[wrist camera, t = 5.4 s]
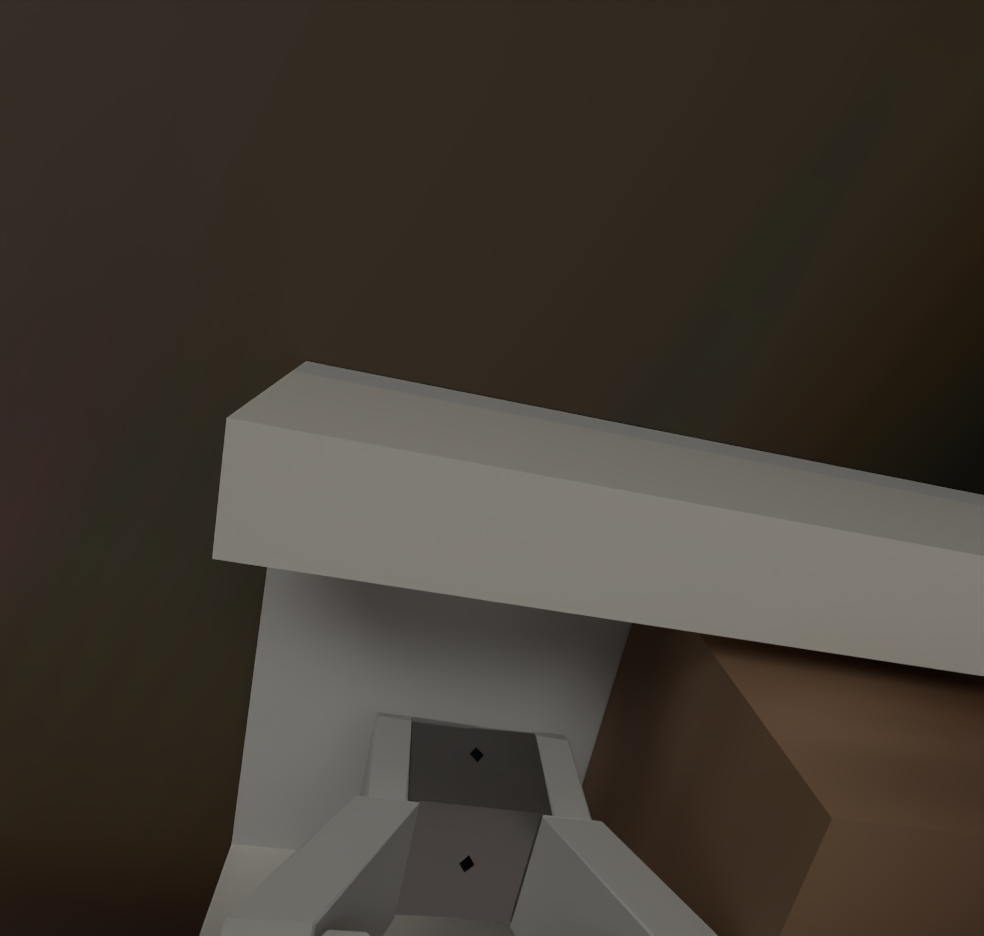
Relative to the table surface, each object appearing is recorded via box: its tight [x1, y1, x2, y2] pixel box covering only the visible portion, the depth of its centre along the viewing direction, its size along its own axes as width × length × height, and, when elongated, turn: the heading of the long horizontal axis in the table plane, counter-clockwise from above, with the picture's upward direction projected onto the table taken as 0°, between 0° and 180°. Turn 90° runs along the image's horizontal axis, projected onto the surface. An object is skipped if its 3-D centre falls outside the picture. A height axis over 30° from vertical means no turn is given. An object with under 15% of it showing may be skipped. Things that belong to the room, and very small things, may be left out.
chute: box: [199, 361, 984, 936], centre depth 10 cm, size 15×10×4 cm, turn 78°
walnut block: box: [582, 623, 984, 936], centre depth 9 cm, size 6×6×5 cm
